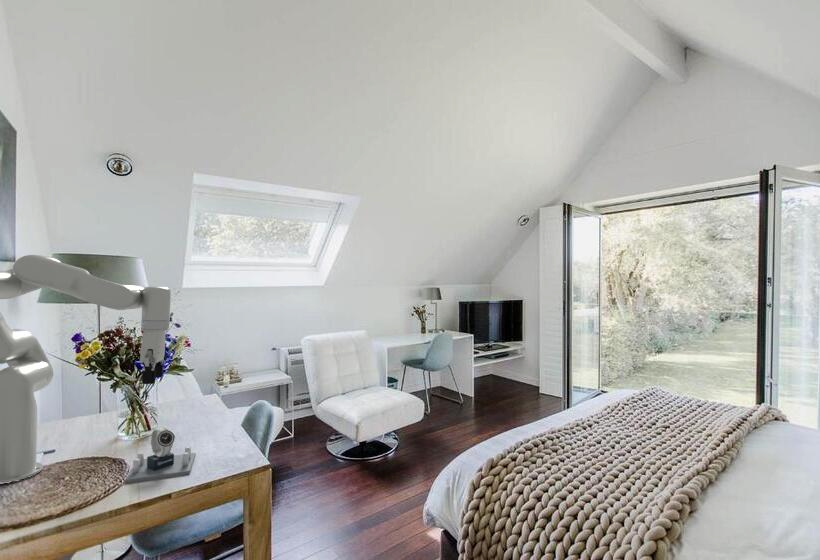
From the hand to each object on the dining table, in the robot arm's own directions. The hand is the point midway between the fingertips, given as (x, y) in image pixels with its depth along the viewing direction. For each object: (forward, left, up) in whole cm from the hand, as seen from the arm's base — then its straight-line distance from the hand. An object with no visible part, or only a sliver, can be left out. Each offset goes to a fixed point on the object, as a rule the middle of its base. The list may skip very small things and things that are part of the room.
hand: (152, 380), depth 129 cm
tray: (+4, -7, -25) cm, 27 cm away
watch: (+4, -7, -25) cm, 26 cm away
